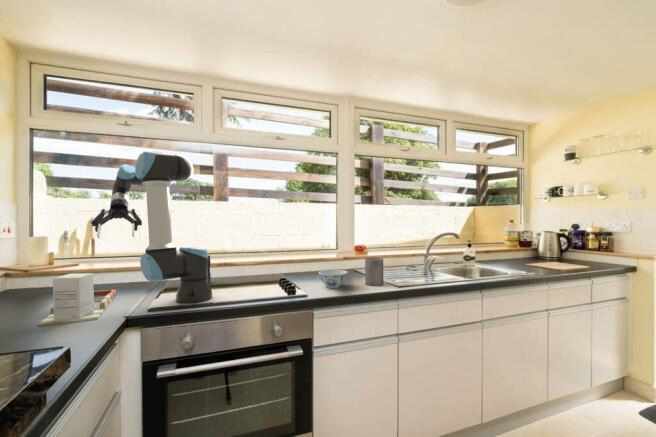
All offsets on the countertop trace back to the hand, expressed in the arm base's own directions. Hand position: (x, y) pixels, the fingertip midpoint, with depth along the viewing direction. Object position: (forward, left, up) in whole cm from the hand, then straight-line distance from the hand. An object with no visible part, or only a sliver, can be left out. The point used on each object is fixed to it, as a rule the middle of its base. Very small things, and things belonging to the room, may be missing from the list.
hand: (116, 235), depth 151 cm
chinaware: (-72, -72, -29) cm, 106 cm away
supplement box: (-20, +22, -28) cm, 41 cm away
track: (-8, +16, -28) cm, 33 cm away
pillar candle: (-87, -89, -29) cm, 128 cm away
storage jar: (-8, -38, -29) cm, 48 cm away
